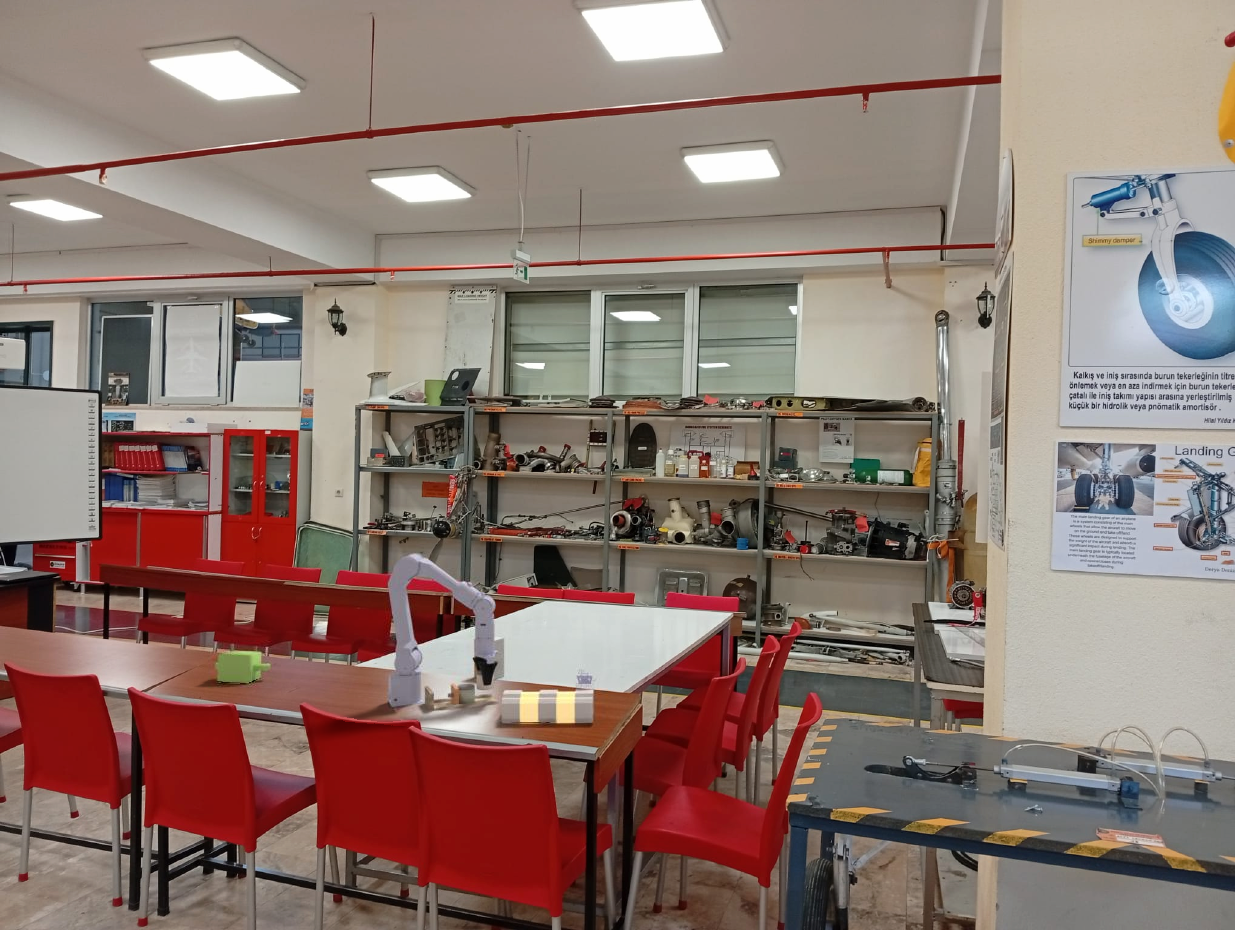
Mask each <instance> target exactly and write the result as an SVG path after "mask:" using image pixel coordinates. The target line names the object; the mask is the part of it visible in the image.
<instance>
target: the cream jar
mask: <svg viewBox="0 0 1235 930" xmlns="http://www.w3.org/2000/svg"><path fill="white" fill-rule="evenodd" d="M494 683H495V682H494V674H493V678H492V683H491V685H487V686H484V684H483V680H482V673H481V670H478V671H477V677H476V689H477V690H478V691H490V690H493V689H494Z"/></svg>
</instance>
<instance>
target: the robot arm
mask: <svg viewBox="0 0 1235 930" xmlns="http://www.w3.org/2000/svg"><path fill="white" fill-rule="evenodd" d="M393 566H394V567H393V570H392V572H391V575H390V578H389V580H388V582H387V586H388V587H387V588H388V593H389V595H388V596H389V601H390V606H391V613H392V618H393V619H392V621H393V624H394V632H395V638H396V646H395V659H394V663H393V664H394V666H393V667H394V669H395V670H396V672H395V673H392V674H389V675H388V680H387V682H388V686H387V687H388V693H387V697H388V698H387V699H388V700H387V701H388V704H389V705H390V706H391V708H395V707H398V706H399V707H400V706H409V705H417V704H425V700H423V698H422V670H421V668H420V665H421V664H422V661H423V654H422V651H421V650H420V648H419V647H418V645H419V644H418V642H417V640H416V638H415V635H414V629H413V628H414V627H413V622H412V617H411V616H412V615H411V609H410V603H409V597H408V591H407V586H408V585H409V584H410V583H411V581H412V580H413V578H415V577H416V576H417V577H418V578H419V577H420V578H431V579H432V580H434V581H435V582H437V583H438V584H440V585H441V586H442V587H444V588H446V589H448V590H450V591H451V593H452V598H453V599H456V600H457V601H458V602H459V603H461V604H462V605H464V606H465V607H467V608H468V609H470V610H472V611H473V614H474V616H475V622H474V639H475V656H477V657H472V658H471V659H472V661H473V664H474V663H475V665H476V669H477V671H478V670H481V673H482V680H483V684H484V686H487V685H491V683H492V678H493V674H494V670H495V668H496V666H497V664H498V662H497V661H494V656H495V654H498V651H495V646H494V637H495V615H494V611H495V609H496V602H495V600H494V599H493V597H492V596H491V595H488V594H486V593H485V592H484V591H482V592H481V591H479V590H478V589H477V588H475V587H474V586H473V583H472V582H470V581H468V582H466V581H458V580H457V579H456V578H454V577H452V576H451V575H450V574H448V572H446V571H444V570H443V569H442V568H440V567H439V566H438V565H436V564H435V563H434V562H433V561H431V560H430V559H429V558H427V557H424V556H422V554H419V553H411V554H409V555H407V556H406V555H405V556H403V557H401V558H400V559H399V560H398V561H397V562H396V563H395V564H394V565H393Z"/></svg>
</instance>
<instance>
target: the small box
mask: <svg viewBox="0 0 1235 930" xmlns="http://www.w3.org/2000/svg"><path fill="white" fill-rule="evenodd" d="M473 641H474V644H473V646H474V652H473V654H474V655H473V656H474V657H477V656H475V638H474V640H473ZM494 646H495V651H498V654H495V656H494V661H497V662H498V664H497V666H496V668H495V670H494V680H497V679H499V678H503V677H504V676H505V637H500V636H499V637H498V636H494ZM473 665H474V666H473V667H474V670H473V672H474V674H473V675H474V678H477V669H476V665H475V663H474V662H473Z"/></svg>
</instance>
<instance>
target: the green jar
mask: <svg viewBox="0 0 1235 930" xmlns="http://www.w3.org/2000/svg"><path fill="white" fill-rule="evenodd" d="M457 687H458V688H459V704H467V703H475V695H476V692H475V691H476V686H475V684H474V683H473V684H472V683H462V684H458V685H457Z"/></svg>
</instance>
